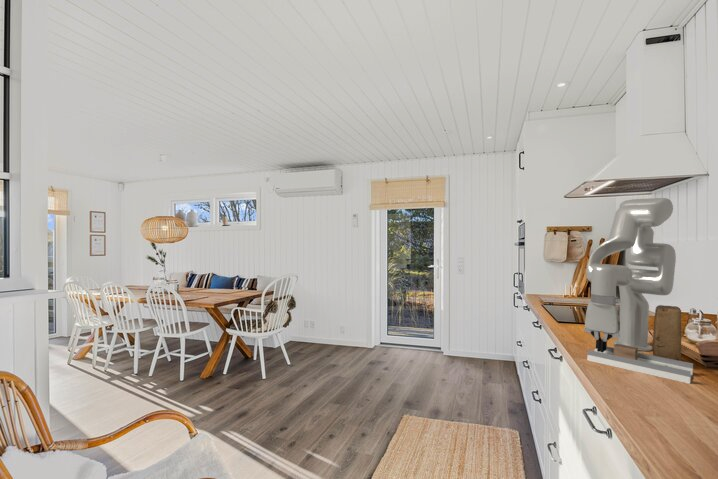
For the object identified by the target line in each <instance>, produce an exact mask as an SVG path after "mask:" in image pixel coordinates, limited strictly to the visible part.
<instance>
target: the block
mask: <svg viewBox="0 0 718 479" xmlns="http://www.w3.org/2000/svg"><path fill="white" fill-rule="evenodd" d="M653 320H654V321H653V336H652V355H653V356H658V357H663V358H668V359H673V360H678V361H682V360H681V359H682V358H681V357H682V354H681V353H682V309H681V308H680V307H678V306H674V305H663V304H659V305H657V306H656V307H655V311H654V319H653Z"/></svg>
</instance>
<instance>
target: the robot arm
mask: <svg viewBox="0 0 718 479" xmlns="http://www.w3.org/2000/svg"><path fill="white" fill-rule="evenodd" d="M673 210H674V205H673V202H672V200H670V199H669V198H668V197H667V198H666V197H655V198H635V199H633V198H631V199H628V200H624V201H622V202H621V203H620V204H619V208H617V210H616V211H615V214H614V218H613V221H612V224H611V228H610V233H609V236H608V238H607V239H606V240H604V241H603V242H602V243H600V244H599V245H598V246H596V248H595V249H594V250H593V251H592V252H591V254H590V256H589V259H588V262H587V264H586V269H585V276H586V279H587V280H588V281H589V282H590V283H591V285H590V301H589V302H588V303H587V307H586V312H585V317H584V320H585V321H584V332H585V333H588V334H591V336H592V337H593V338H594V340H595V349H596V348H597V351H598V352H604V351H605V350H606V349H607V347H608V344H607V343H608V340H610V339H614V338H615V339H614V340H613V344H614V346H615V345H616V344H622V345H627V346H632V347H637V348H638V351H641V352H648V351H653V345H650V344H649V343H648V339H649V338H648V337H649V314H650V313H649V312H650V305H649V302H648V300H647V299H646V297H645V296H644V295H643V294H647V295H655V296H669V295H670V294H671V292H673V288H674V287H673V286H674V282H675V281H674V280H675V272H676V268H675V267H676V263H677V262H676V261H677V260H676V259H677V255H676V254H677V253H676V250H675V248H674V246H672V245H671V244H668V243H658V242H657V243H655V242H654V234H655V233H654V230H653V228H652V227H654V228H655V227H659V226H661V225H662V224H664V222H667V221H668V220H669V219H670V217H671V216H672V214H673V212H674V211H673ZM622 251H625V261H626V263H627V264H629V265H630V266H636V267H637V266H638V267H645V268H644V269H643V268H630V267H628V266H625V265H622V264H621V265H620V264H609V263H607V264H606V263H602V261H603V260H604V259H606V258H607V257H608V256H610V255H611V256H612V255H613V254H617V253H619V252H622ZM646 267H649V268H657V269H658V270H656V269H655V270H654V269H646ZM617 287H618V289H619V290H618V291H619V297H618V298H617ZM618 303H619V305H618ZM601 333H603V336H602V337H601ZM617 338H618V339H617Z"/></svg>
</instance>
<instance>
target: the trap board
mask: <svg viewBox="0 0 718 479" xmlns="http://www.w3.org/2000/svg"><path fill="white" fill-rule="evenodd" d="M586 357H587V361H588V362H593V363H598V364H601V365H602V364H603V365H606V366H610V367H614V368H615V367H616V368H620V369H624V370H627V371H632V372H636V373H641V374H646V375H651V376H653V377H659V378H663V379H667V380H673V381H676V382H681V383H684V384H685V383H686V384H689V385H690V383H691V382H692V378H693V375H694V363H692V362H687V361H682V360H680V361H678V360H673V359H668V358H663V357H658V356H653V354H648V353H641V352H638V358H637V360H634V359H629V358H625V357H620V356H615V355H614V347H612V346H607V349H606V350H605V351H604V352H598V351H597V348H596V347H595V349H594V350H591V349H587V356H586Z"/></svg>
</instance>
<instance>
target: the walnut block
mask: <svg viewBox="0 0 718 479" xmlns="http://www.w3.org/2000/svg"><path fill="white" fill-rule="evenodd" d="M613 348H614V355H615V356H620V357H625V358H629V359H634V360H637V358H638V353H639V350H638V348H637V347H632V346H627V345H622V344H616V345H615V344H614V345H613Z"/></svg>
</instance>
